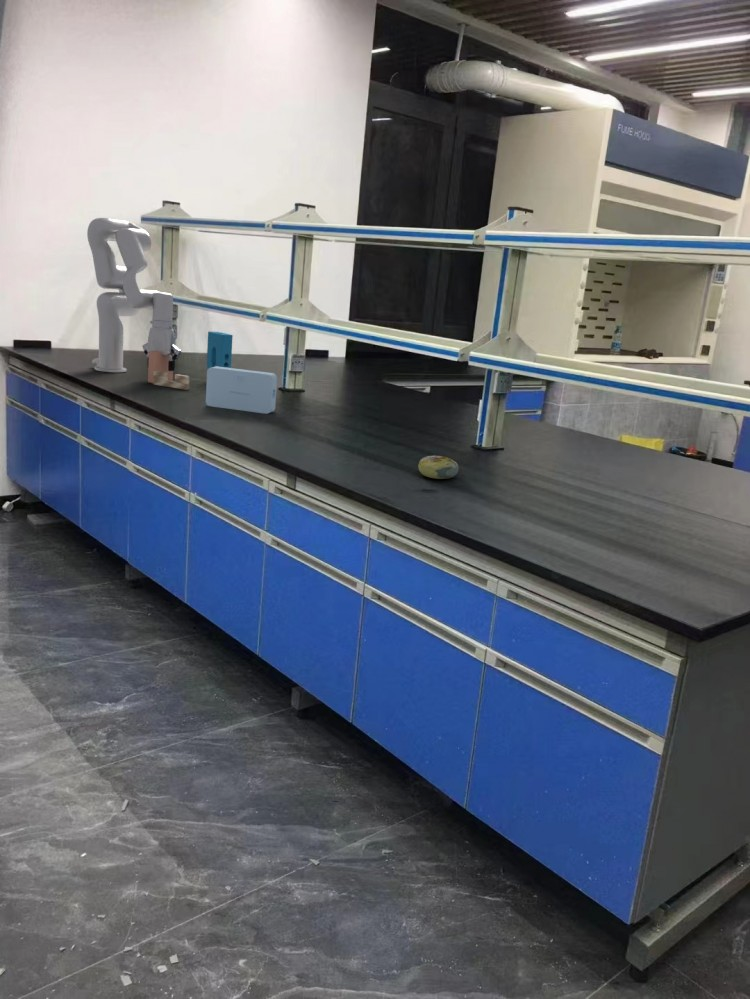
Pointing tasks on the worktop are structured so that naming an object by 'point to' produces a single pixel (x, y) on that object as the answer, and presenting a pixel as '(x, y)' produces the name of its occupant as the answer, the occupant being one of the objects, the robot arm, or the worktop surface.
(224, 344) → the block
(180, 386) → the slot plate base
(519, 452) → the worktop surface
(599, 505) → the worktop surface
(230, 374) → the pale blue box
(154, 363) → the terracotta plate
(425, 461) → the cell model
